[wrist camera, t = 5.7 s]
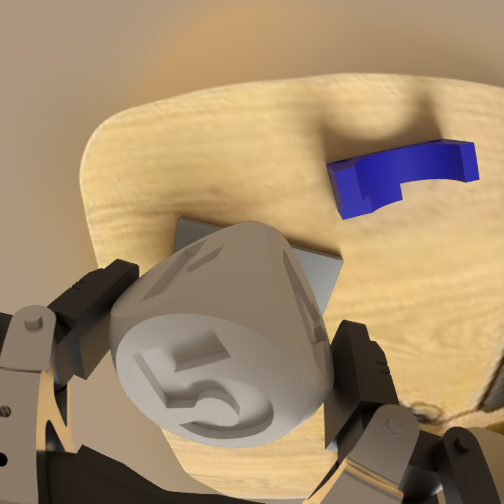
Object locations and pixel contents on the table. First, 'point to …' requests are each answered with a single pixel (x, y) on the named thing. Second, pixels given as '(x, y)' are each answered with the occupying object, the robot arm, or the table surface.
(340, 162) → the blue saddle bracket
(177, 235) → the brick tower
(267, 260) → the die
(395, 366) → the table surface
